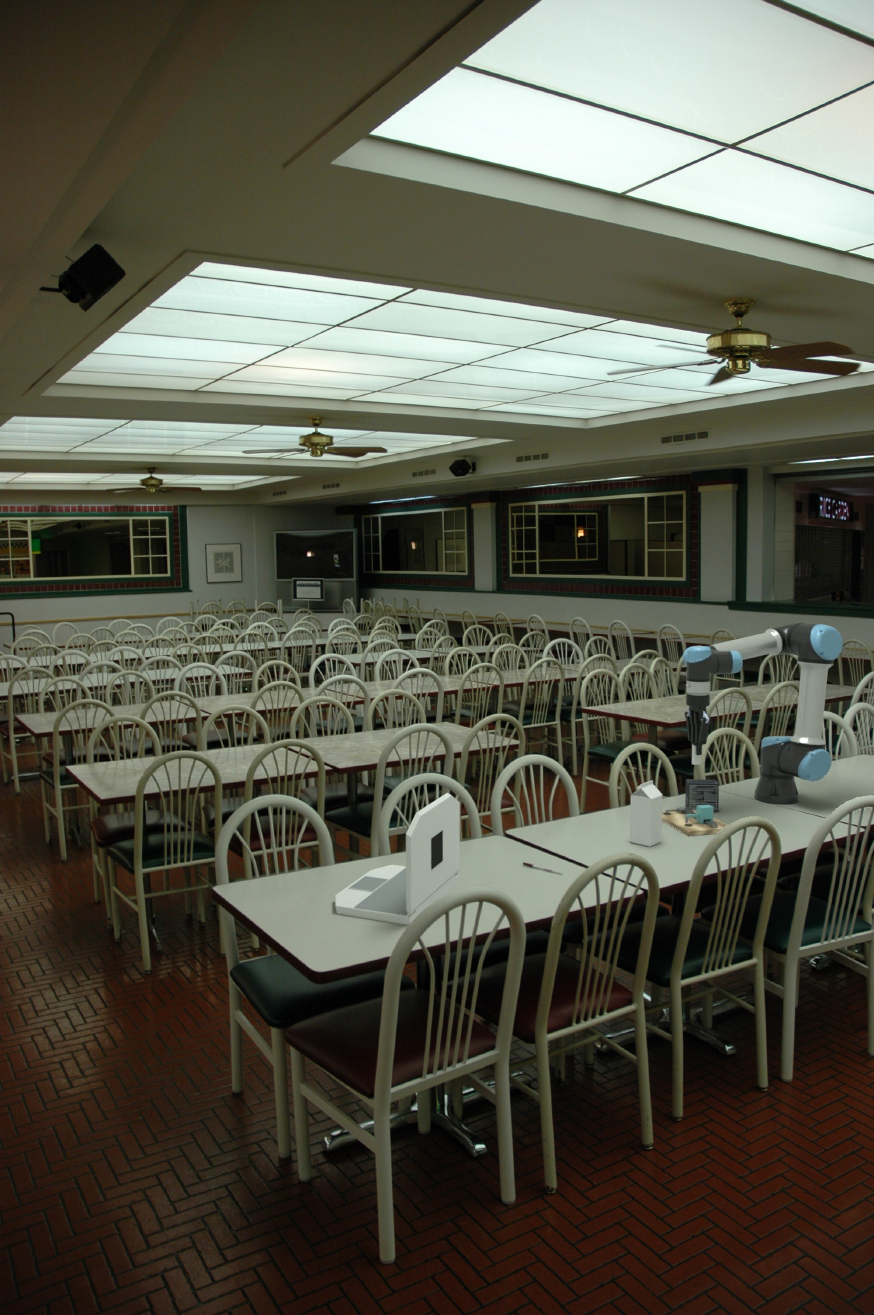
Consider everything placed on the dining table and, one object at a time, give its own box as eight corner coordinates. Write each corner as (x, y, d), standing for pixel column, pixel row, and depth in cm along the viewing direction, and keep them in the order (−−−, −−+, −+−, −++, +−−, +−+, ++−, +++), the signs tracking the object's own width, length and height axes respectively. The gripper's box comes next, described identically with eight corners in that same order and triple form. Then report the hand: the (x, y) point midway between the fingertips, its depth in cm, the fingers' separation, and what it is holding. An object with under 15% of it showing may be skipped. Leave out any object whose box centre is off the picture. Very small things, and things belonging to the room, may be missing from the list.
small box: (715, 808, 326) (716, 778, 325) (719, 813, 320) (719, 783, 319) (684, 807, 327) (685, 778, 326) (687, 812, 321) (688, 782, 320)
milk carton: (661, 842, 288) (662, 782, 286) (649, 847, 283) (651, 786, 281) (641, 837, 293) (642, 778, 291) (629, 842, 287) (630, 782, 285)
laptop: (380, 871, 264) (379, 779, 261) (460, 882, 255) (460, 787, 252) (323, 912, 233) (321, 810, 230) (411, 927, 224) (410, 820, 221)
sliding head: (708, 820, 305) (708, 804, 304) (713, 822, 302) (713, 807, 302) (683, 822, 303) (683, 806, 302) (687, 825, 300) (688, 809, 299)
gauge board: (697, 813, 319) (697, 809, 319) (733, 832, 298) (733, 827, 297) (655, 817, 315) (655, 812, 315) (688, 836, 294) (688, 831, 293)
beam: (688, 810, 317) (688, 806, 317) (721, 827, 298) (721, 823, 297) (663, 812, 315) (664, 808, 315) (695, 830, 295) (695, 825, 295)
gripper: (677, 691, 310) (676, 760, 312) (698, 697, 297) (696, 769, 300) (697, 690, 312) (696, 759, 314) (719, 695, 299) (717, 767, 302)
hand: (696, 764), depth 307 cm, fingers closed
